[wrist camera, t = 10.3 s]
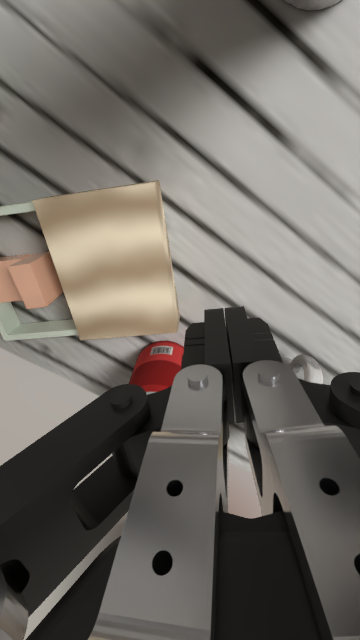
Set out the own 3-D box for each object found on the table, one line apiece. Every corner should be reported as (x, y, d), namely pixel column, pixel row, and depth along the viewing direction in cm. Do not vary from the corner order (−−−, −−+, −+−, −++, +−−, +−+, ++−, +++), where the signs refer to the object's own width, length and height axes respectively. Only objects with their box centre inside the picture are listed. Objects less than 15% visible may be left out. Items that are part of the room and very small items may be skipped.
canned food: (127, 360, 41) (103, 420, 32) (165, 328, 38) (153, 383, 29) (165, 391, 43) (153, 456, 34) (204, 363, 40) (204, 425, 31)
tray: (-37, 211, 33) (-58, 215, 30) (51, 198, 31) (37, 201, 29) (17, 329, 40) (4, 340, 37) (91, 322, 39) (82, 334, 36)
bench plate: (51, 196, 31) (31, 200, 28) (158, 180, 30) (152, 182, 26) (91, 324, 39) (80, 340, 35) (179, 316, 37) (177, 332, 34)
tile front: (51, 251, 34) (32, 254, 35) (29, 263, 30) (7, 266, 30) (65, 289, 37) (47, 292, 37) (47, 306, 32) (26, 309, 33)
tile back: (19, 258, 33) (31, 252, 35) (-20, 264, 33) (-7, 257, 36) (36, 298, 35) (45, 290, 37) (-2, 302, 36) (10, 294, 38)
